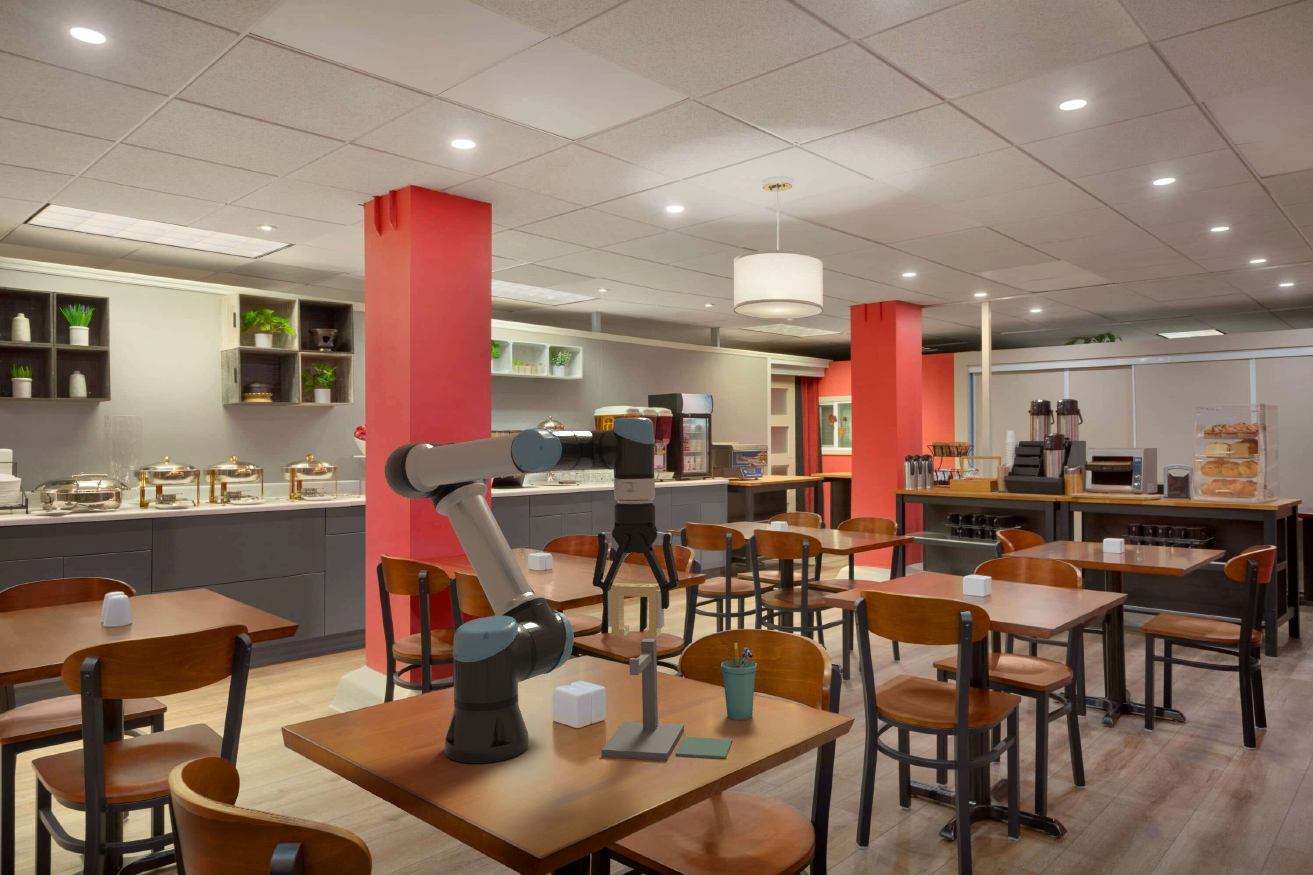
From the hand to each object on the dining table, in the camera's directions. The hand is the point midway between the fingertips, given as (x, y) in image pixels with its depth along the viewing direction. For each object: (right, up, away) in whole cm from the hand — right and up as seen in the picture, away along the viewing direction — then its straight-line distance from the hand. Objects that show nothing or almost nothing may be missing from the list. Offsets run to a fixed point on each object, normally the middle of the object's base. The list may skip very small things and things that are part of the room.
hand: (636, 625), depth 151 cm
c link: (0, -2, 0) cm, 2 cm away
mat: (+12, -22, 0) cm, 26 cm away
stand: (+1, -23, +3) cm, 23 cm away
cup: (+21, -23, +17) cm, 36 cm away
